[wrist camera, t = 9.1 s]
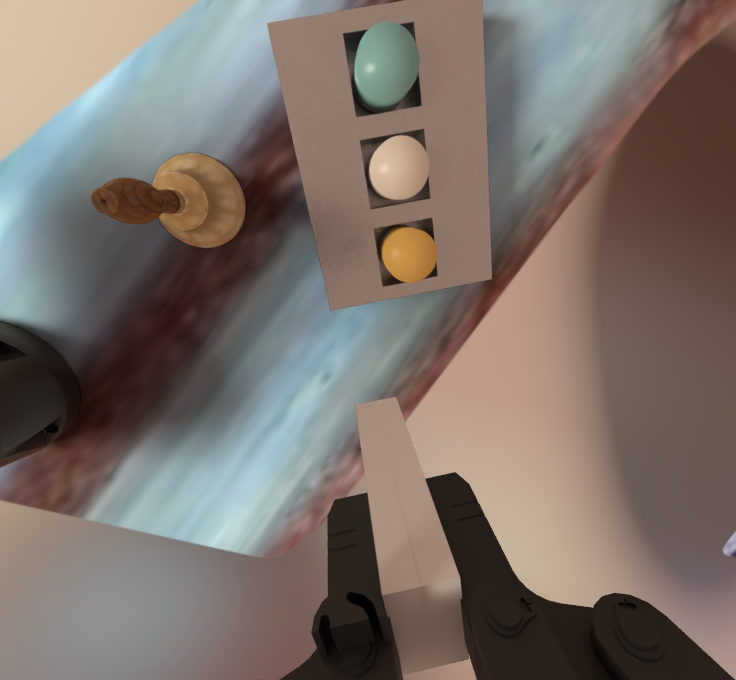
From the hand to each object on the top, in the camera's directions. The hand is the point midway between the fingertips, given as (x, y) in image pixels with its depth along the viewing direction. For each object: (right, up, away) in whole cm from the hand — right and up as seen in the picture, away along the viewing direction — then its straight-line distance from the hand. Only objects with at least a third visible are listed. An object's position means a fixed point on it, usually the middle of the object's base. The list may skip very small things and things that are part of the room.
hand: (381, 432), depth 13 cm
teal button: (0, +25, +16) cm, 30 cm away
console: (+1, +19, +21) cm, 29 cm away
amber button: (+3, +12, +22) cm, 25 cm away
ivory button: (+2, +19, +19) cm, 27 cm away
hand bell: (-16, +16, +20) cm, 31 cm away
